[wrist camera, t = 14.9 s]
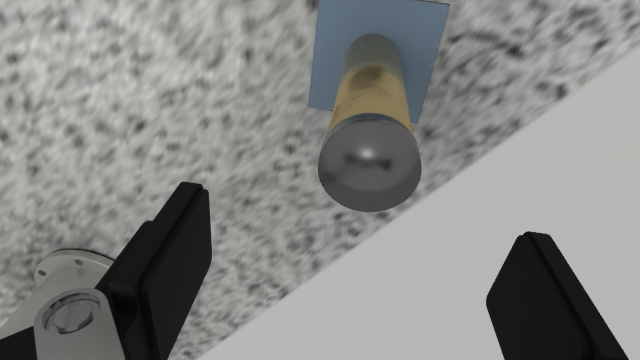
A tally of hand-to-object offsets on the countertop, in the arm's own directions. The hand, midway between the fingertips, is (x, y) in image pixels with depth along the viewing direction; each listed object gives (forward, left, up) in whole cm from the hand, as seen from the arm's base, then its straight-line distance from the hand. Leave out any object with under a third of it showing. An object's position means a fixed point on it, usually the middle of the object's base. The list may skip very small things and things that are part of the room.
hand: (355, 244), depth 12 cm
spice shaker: (0, 0, -17) cm, 17 cm away
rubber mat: (+1, 0, -18) cm, 18 cm away
